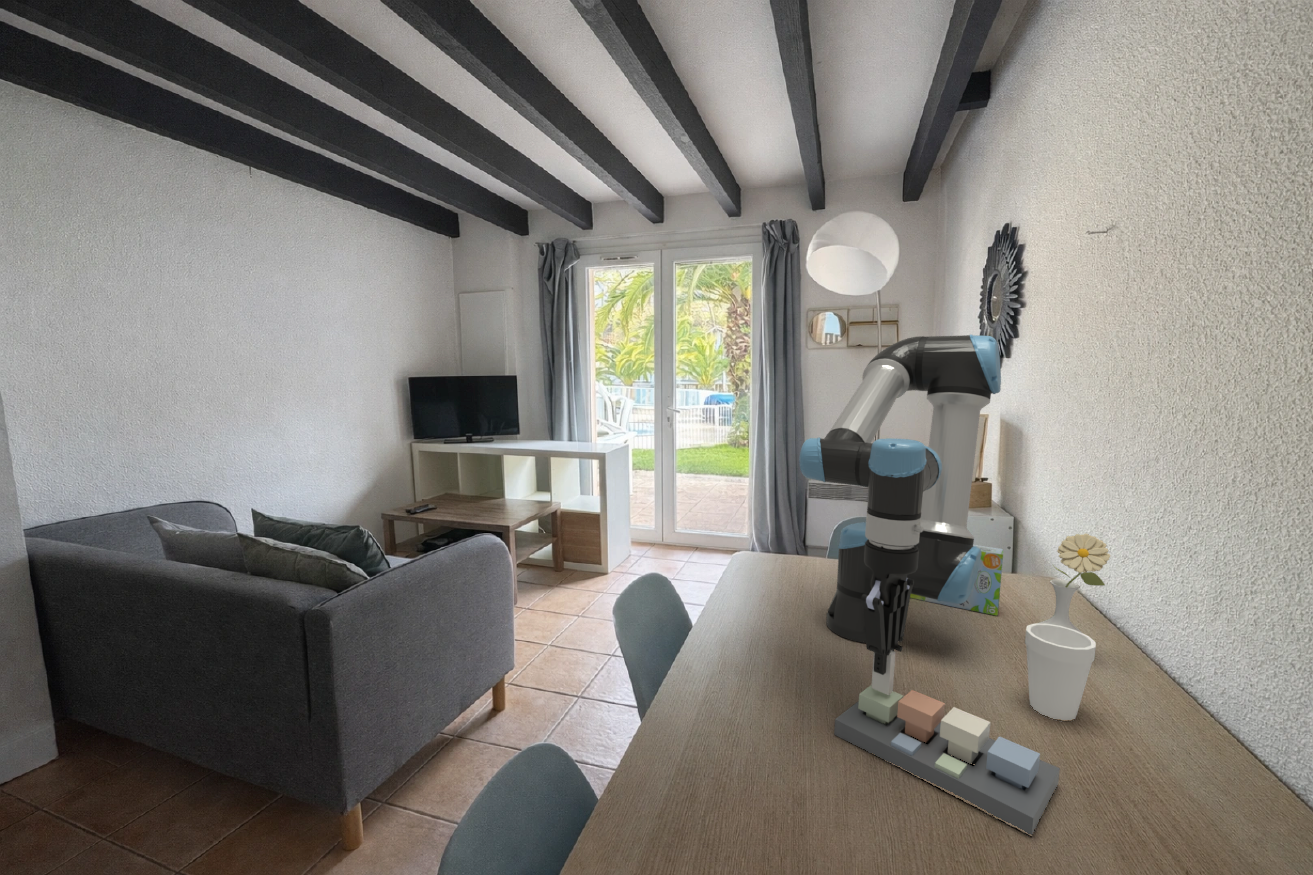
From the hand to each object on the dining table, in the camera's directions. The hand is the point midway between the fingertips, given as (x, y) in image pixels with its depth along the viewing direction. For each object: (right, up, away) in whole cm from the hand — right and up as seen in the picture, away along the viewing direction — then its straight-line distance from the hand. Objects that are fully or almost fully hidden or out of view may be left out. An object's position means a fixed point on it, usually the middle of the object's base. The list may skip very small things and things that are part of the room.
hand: (882, 689), depth 88 cm
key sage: (0, -6, 0) cm, 6 cm away
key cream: (+8, -5, -8) cm, 13 cm away
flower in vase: (+48, -5, +28) cm, 56 cm away
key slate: (+12, -7, -13) cm, 19 cm away
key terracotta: (+4, -5, -4) cm, 7 cm away
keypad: (+6, -7, -6) cm, 11 cm away
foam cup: (+31, -7, +7) cm, 32 cm away
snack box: (+37, -2, +51) cm, 63 cm away
